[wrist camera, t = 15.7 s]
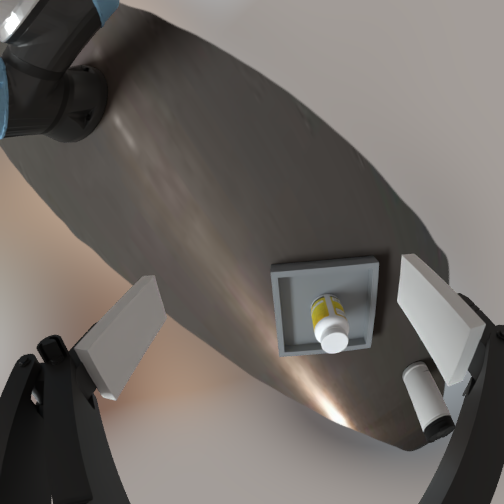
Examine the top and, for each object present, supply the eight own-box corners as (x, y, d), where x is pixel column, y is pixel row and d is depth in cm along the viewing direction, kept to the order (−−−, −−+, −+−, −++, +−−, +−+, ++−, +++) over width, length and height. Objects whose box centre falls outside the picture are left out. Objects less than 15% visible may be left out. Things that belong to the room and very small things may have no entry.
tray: (271, 264, 44) (270, 272, 41) (373, 255, 42) (379, 262, 39) (279, 346, 50) (279, 356, 47) (366, 337, 48) (370, 347, 45)
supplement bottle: (309, 320, 46) (314, 358, 37) (311, 293, 44) (317, 328, 35) (339, 319, 45) (350, 355, 36) (342, 292, 44) (356, 326, 34)
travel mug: (426, 356, 48) (459, 421, 30) (424, 374, 50) (453, 437, 32) (402, 365, 50) (430, 435, 31) (401, 383, 51) (425, 449, 33)
